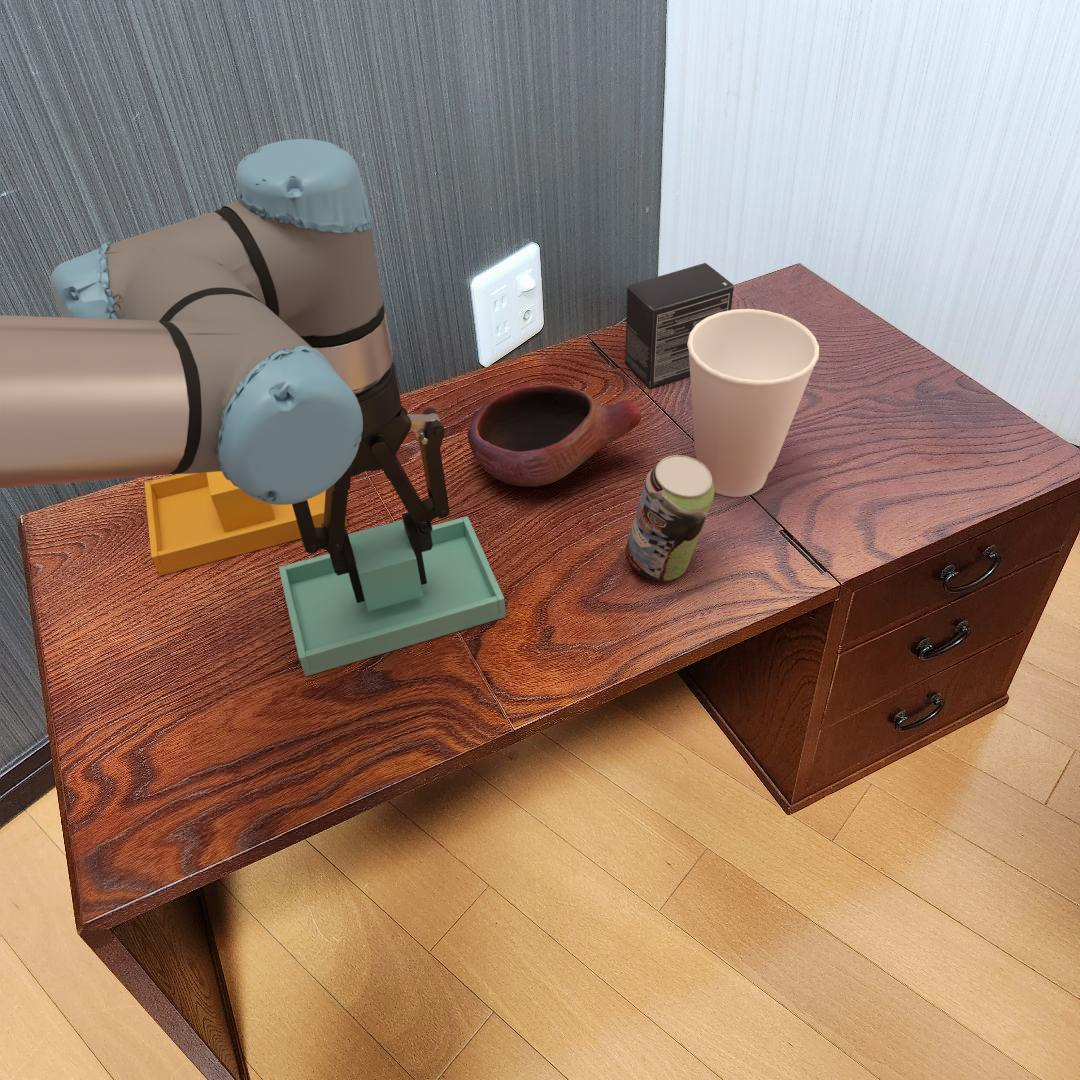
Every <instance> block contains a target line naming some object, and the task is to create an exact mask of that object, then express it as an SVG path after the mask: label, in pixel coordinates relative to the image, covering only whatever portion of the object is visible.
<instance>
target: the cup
mask: <svg viewBox="0 0 1080 1080" xmlns="http://www.w3.org/2000/svg"><path fill="white" fill-rule="evenodd" d="M687 346H688V350H689V362H690V376H689V378H690V392H691V393H690V394H691V409H692V411H691V412H692V425H693V427H692V428H693V440H694V441H693V443H694V454H695V459H696V460H698V461H699V462H701V463H702V464H703V465H705V466H706V467H707V469H708V470H709V472H710V473H711V476H712V483H713V486H714V494H717V495H720V496H724V497H730V498H743V497H747V496H751V495H753V494H755V493H757V492H759V491H760V490H761V489H762V488H763V487H764V485H765V483H766V482H767V479H768V476H769V473H770V472H772V470H773V469H774V467H775V465H776V463H777V460H778V458H779V455H780V453H781V450H782V448H783V445H784V443H785V440H786V438H787V436H788V433H789V431H790V428H791V425H792V423H793V420H794V419H795V416H796V412H797V410H798V408H799V405H800V403H801V400H802V398H803V395H804V393H805V390H806V388H807V385H808V383H809V381H810V378H811V375H812V372H813V370H814V368H815V366H816V364H817V363H818V361H819V357H820V346H819V343H818V341H817V338H816V336H815V335H814V333H812V332H811V331H810V329H809V328H808V327H807V326H805V325H803V324H802V323H800V322H799V321H798V320H796V319H793V318H791V317H789V316H786V315H784V314H782V313H777V312H773V311H769V310H763V309H754V308H740V309H739V308H737V309H731V310H729V311H724V312H719V313H717V314H714V315H711V316H709V317H706V318H705V319H704V320H702V321H701V322H699V323H698V324H697V325H696V326H695V327H694V328H693V330H692V331H691V332H690V334H689V338H688V343H687Z"/></svg>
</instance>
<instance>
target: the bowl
mask: <svg viewBox="0 0 1080 1080" xmlns="http://www.w3.org/2000/svg"><path fill="white" fill-rule="evenodd" d="M641 412H642V411H641V408H640V407H639V406H638V404H637V403H636V402H635V401H634V400H631V399H623V400H620V401H618V402H616V403H614V404H608V405H607V404H599V403H598V402H597V401H596V400H594V398H593V397H592V396H591V395H589V394H588V393H587V392H586V391H584V390H580V389H578V388H576V387H573V386H568V385H564V384H558V383H557V384H555V383H545V384H535V385H523V386H518V387H514V388H510V389H508V390H506V391H505V390H504V391H503V392H501V393H499V394H496V395H494V396H492V397H491V398H490V399H488V400H487V401H486V402H485V403H483V405H482V407H481V408H480V409H479V410H478V411H477V412H476V413H475V414H474V415H473V416H472V417H471V419H470V424H469V428H468V430H467V432H466V435H467V440H468V443H469V446H470V447H469V448H470V450H471V452H472V455H473V456H474V458H475V460H476V461H477V462H478V464H479V466H480V467H481V468H482V469H483V470H484V471H485V472H486V473H487V474H489V475H490V476H492V477H493V478H495V479H496V480H498V481H500V482H502V483H505V484H508V485H511V486H516V487H542V486H546V485H550V484H553V483H555V482H557V481H560V480H561V479H563V478H565V477H567V476H568V475H569V474H571V473H573V471H575V470H576V469H577V468H579V467H580V466H581V465H583V464H584V463H585V462H586V461H587V460H589V459H590V458H591V457H592V456H593V455H595V454H596V453H597V452H598V451H600V450H602V448H605V446H607V445H609V444H611V443H614V442H615V441H616V440H618V439H620V438H622V437H623V436H625V435H627V434H628V433H630V432H631V431H633V430H634V429H635V428H636V427H637V426H638V425H639V424H640V422H641V421H642V413H641Z"/></svg>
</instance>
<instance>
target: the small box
mask: <svg viewBox="0 0 1080 1080" xmlns="http://www.w3.org/2000/svg"><path fill="white" fill-rule="evenodd" d="M734 290H735V284H734V283H732V282H731V281H729V280H728V279H727V278H726V277H725V276H723V275H722V274H721V273H720V272H718V271H717V270H716V269H714V268H713V267H712V266H710V264H708V263H706V262H703V263H700V264H696V265H693V266H690V267H686V268H683V269H679V270H676V271H673V272H668V273H666V274H662V275H658V276H655V277H652V278H649V279H645V280H641V281H638V282H635V283H631V284H628V285H627V286H626V321H625V323H626V326H625V349H624V350H625V351H624V352H625V354H624V363H625V364H626V366H628V367H629V369H630V370H631V371H632V372H633V373H634V374H635V375H636V376H637V377H638V378H639V379H640V380H641V381H642V382H643V384H644V385H645V386H646V387H647V388H649V389H653V388H656V387H659V386H662V385H665V384H666V385H667V384H668V383H671V382H674V381H677V380H680V379H681V380H682V379H684V378H687V377H690V362H689V350H688V346H687V343H688V338H689V334H690V332H691V331H692V330H693V328H694V327H695V326H696V325H697V324H698V323H699V322H701V321H702V320H704V319H705V318H706V317H709V316H711V315H714V314H717V313H719V312H724V311H729V310H732V305H733V297H734Z"/></svg>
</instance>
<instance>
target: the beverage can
mask: <svg viewBox="0 0 1080 1080" xmlns="http://www.w3.org/2000/svg"><path fill="white" fill-rule="evenodd" d="M714 498H715V492H714V486H713V483H712V476H711V473H710V472H709V470H708V469H707V467H706V466H705V465H703V464H702V463H701V462H699V461H698V460H697V459H696V458H693V457H690V456H687V455H678V454H675V455H670V456H669V455H668V456H666V457H664V458H662V459H661V460H660V461H658V463H657V464H656V465H654V466H653V467H652V468H651V469H650V470H649V471H648V473H647V475H646V477H645V481H644V483H643V487H642V491H641V494H640V497H639V501H638V505H637V508H636V512H635V515H634V517H633V521H632V526H631V529H630V532H629V536H628V539H627V543H626V546H625V556H626V560H627V562H628V564H629V565H630V566H631V568H632V569H633V570H634V571H635V572H636V573H638V574H639V575H640V576H642V577H644V578H647V579H649V580H654V581H660V582H666V581H667V582H668V581H672V580H675V579H678V578H679V577H681V576H682V575H683V574H685V572H687V569H688V568H689V565H690V562H691V560H692V557H693V554H694V552H695V549H696V546H697V543H698V540H699V538H700V536H701V533H702V530H703V528H704V526H705V522H706V519H707V517H708V515H709V512H710V509H711V507H712V504H713V501H714Z"/></svg>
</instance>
